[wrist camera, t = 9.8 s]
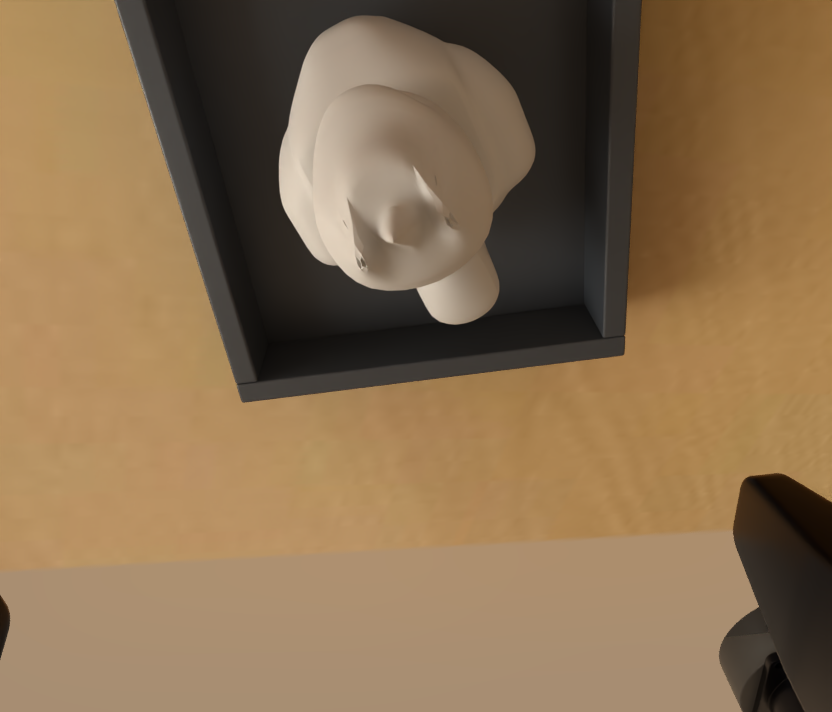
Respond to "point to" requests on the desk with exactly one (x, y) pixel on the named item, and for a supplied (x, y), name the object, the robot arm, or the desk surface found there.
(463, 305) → the white rounded lumpy piece
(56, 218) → the desk surface
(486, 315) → the tray
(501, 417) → the desk surface
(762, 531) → the robot arm
